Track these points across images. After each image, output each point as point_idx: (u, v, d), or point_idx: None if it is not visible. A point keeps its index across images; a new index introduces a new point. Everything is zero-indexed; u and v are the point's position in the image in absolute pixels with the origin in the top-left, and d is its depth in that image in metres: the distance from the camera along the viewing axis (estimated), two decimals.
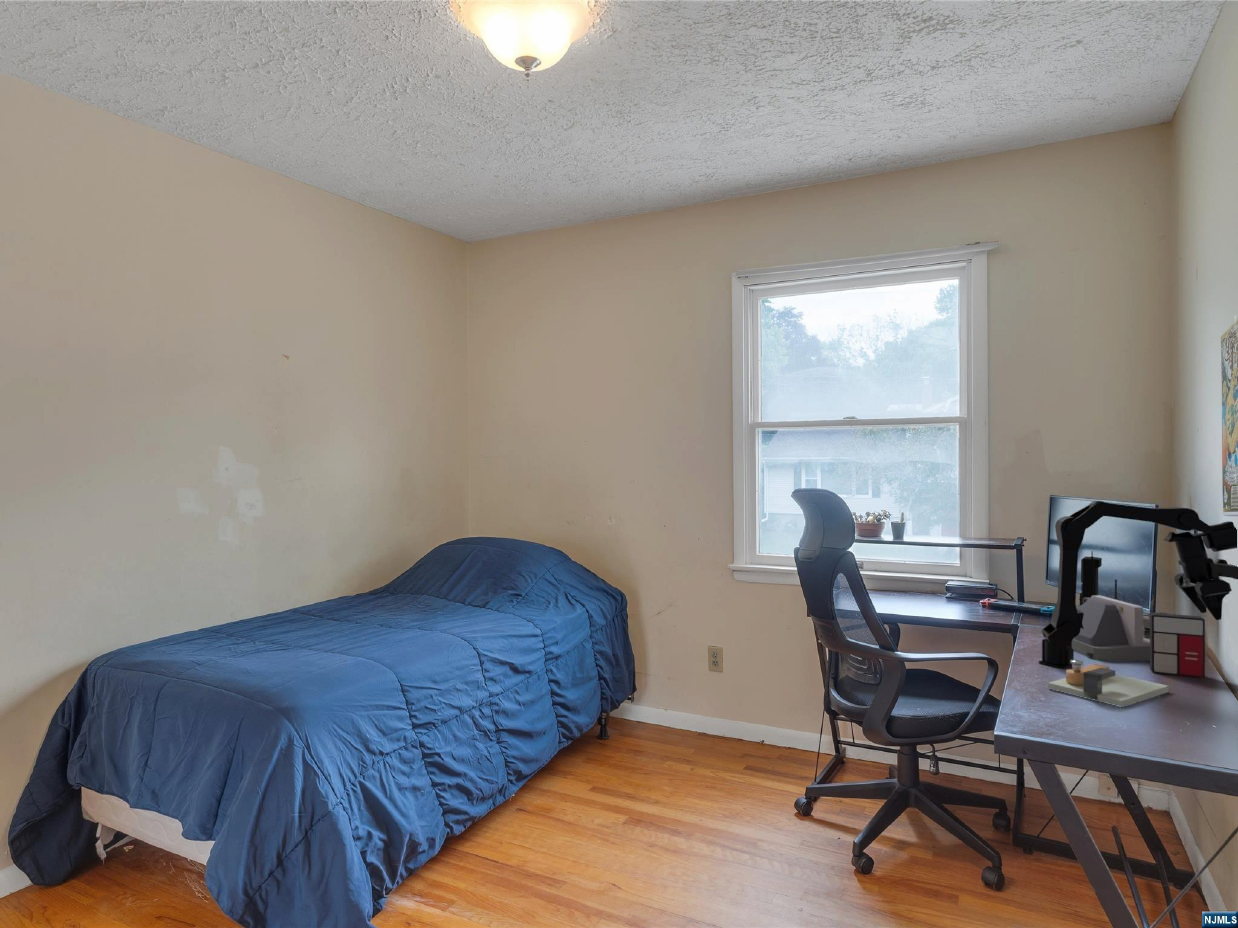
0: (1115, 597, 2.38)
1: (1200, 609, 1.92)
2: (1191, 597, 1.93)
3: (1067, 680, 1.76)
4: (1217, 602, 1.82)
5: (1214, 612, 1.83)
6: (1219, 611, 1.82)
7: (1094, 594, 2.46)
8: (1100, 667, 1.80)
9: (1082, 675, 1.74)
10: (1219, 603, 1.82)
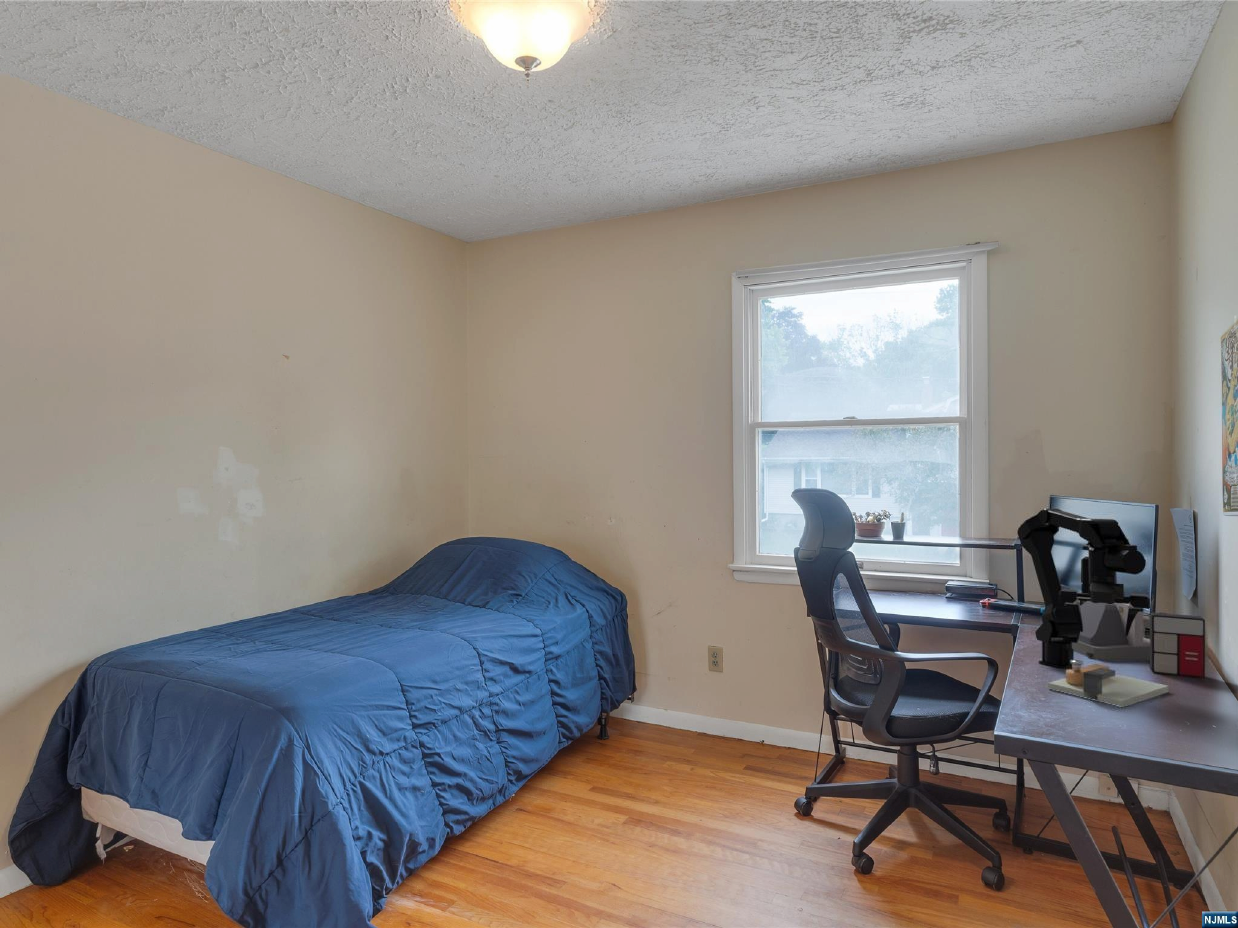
0: None
1: None
2: None
3: (1067, 680, 1.76)
4: None
5: None
6: (1077, 622, 1.85)
7: None
8: (1100, 667, 1.80)
9: (1082, 675, 1.74)
10: None
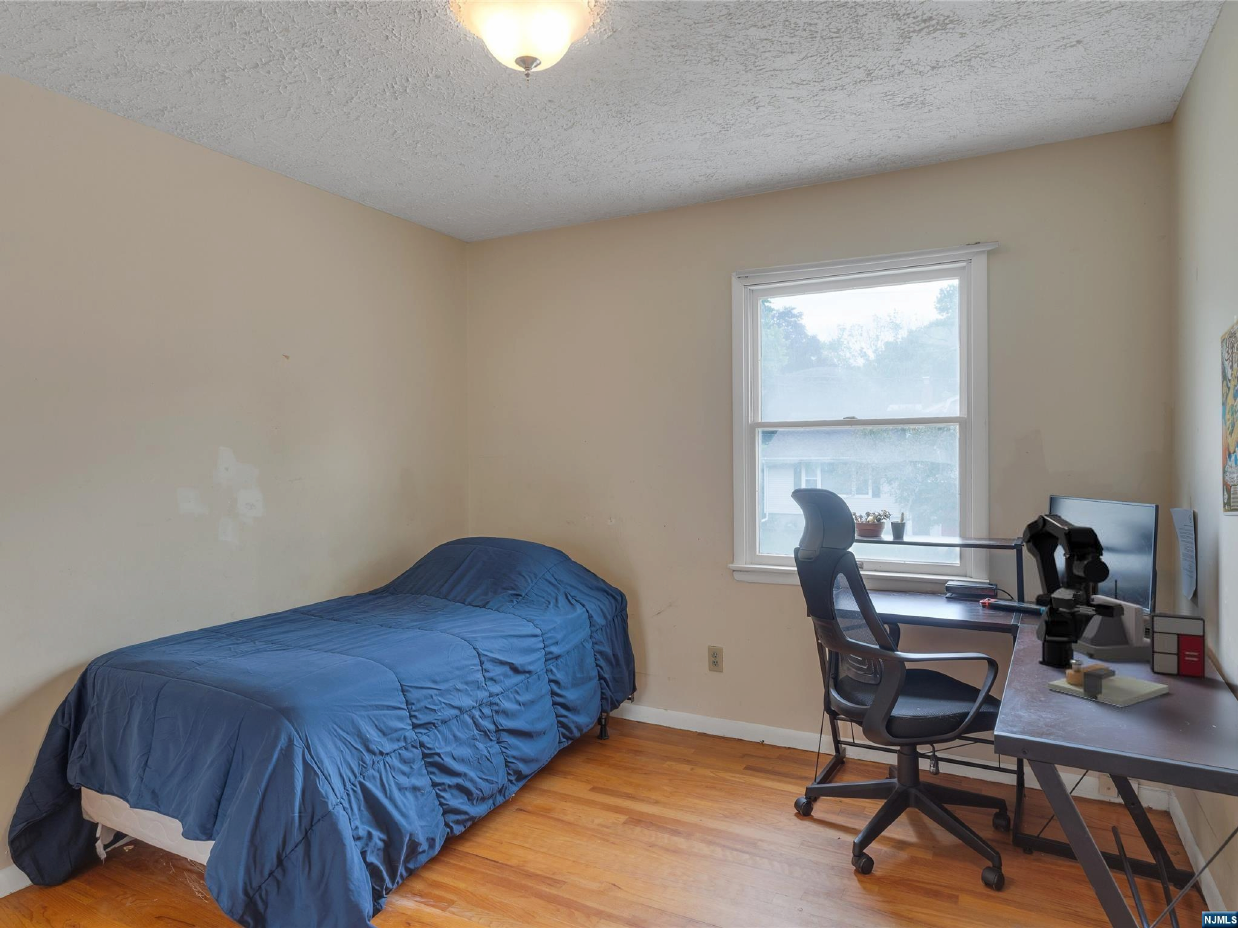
0: (1115, 597, 2.38)
1: None
2: None
3: (1067, 680, 1.76)
4: None
5: None
6: None
7: (1094, 594, 2.46)
8: (1100, 667, 1.80)
9: (1082, 675, 1.74)
10: None
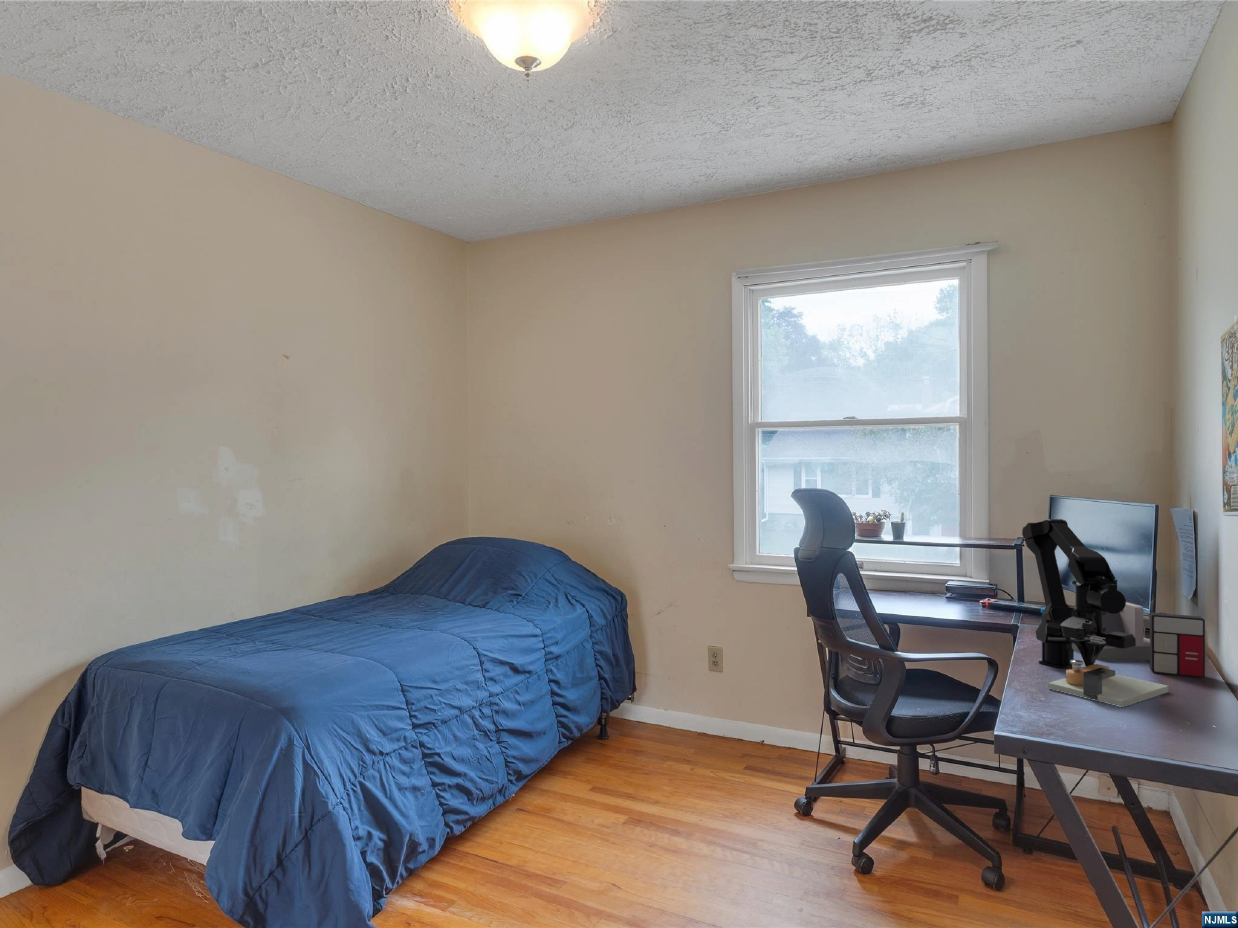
0: None
1: None
2: None
3: (1067, 680, 1.76)
4: None
5: None
6: None
7: None
8: (1100, 667, 1.80)
9: (1082, 675, 1.74)
10: None
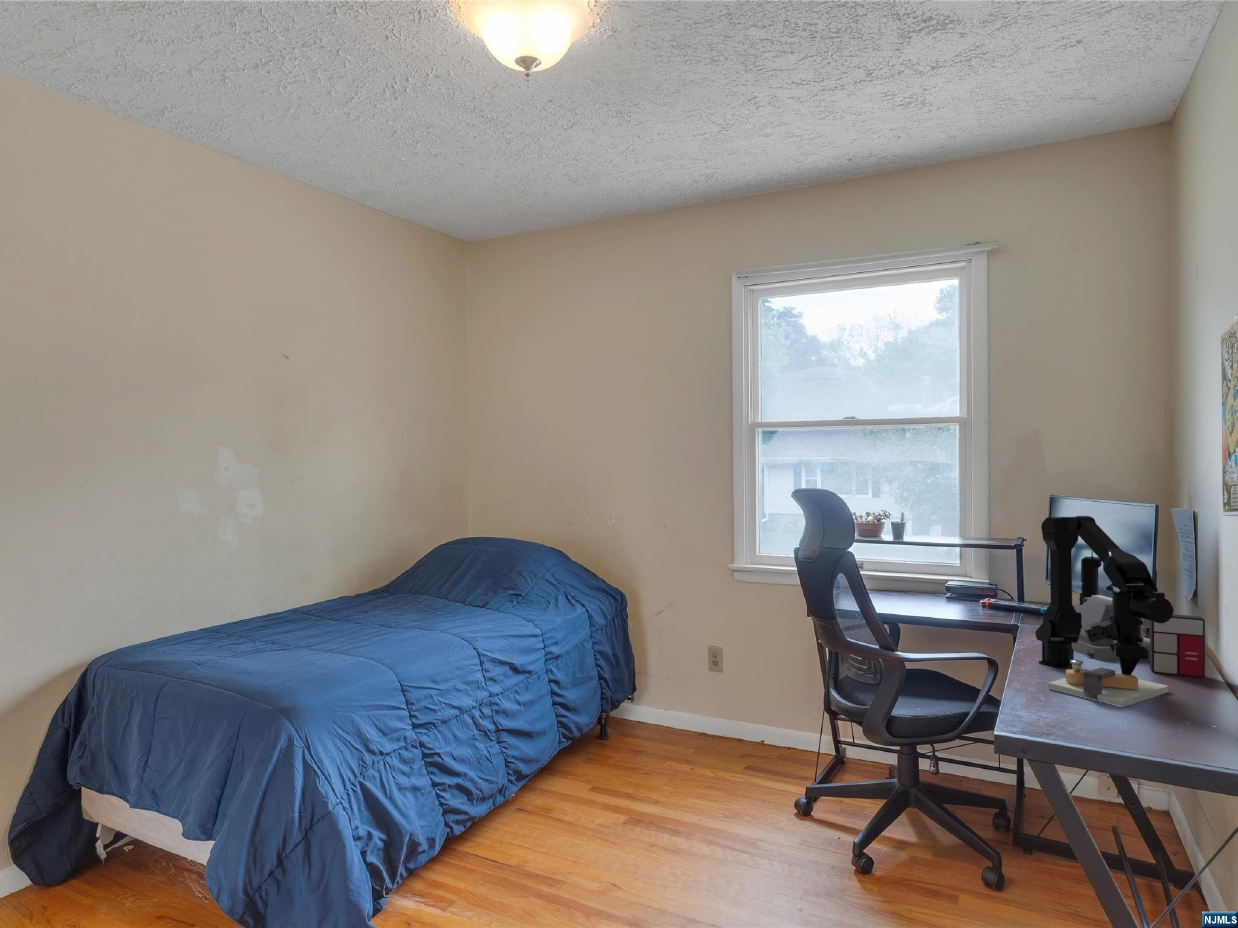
0: None
1: None
2: None
3: None
4: None
5: None
6: None
7: (1094, 594, 2.46)
8: (1123, 676, 1.72)
9: (1073, 674, 1.75)
10: None
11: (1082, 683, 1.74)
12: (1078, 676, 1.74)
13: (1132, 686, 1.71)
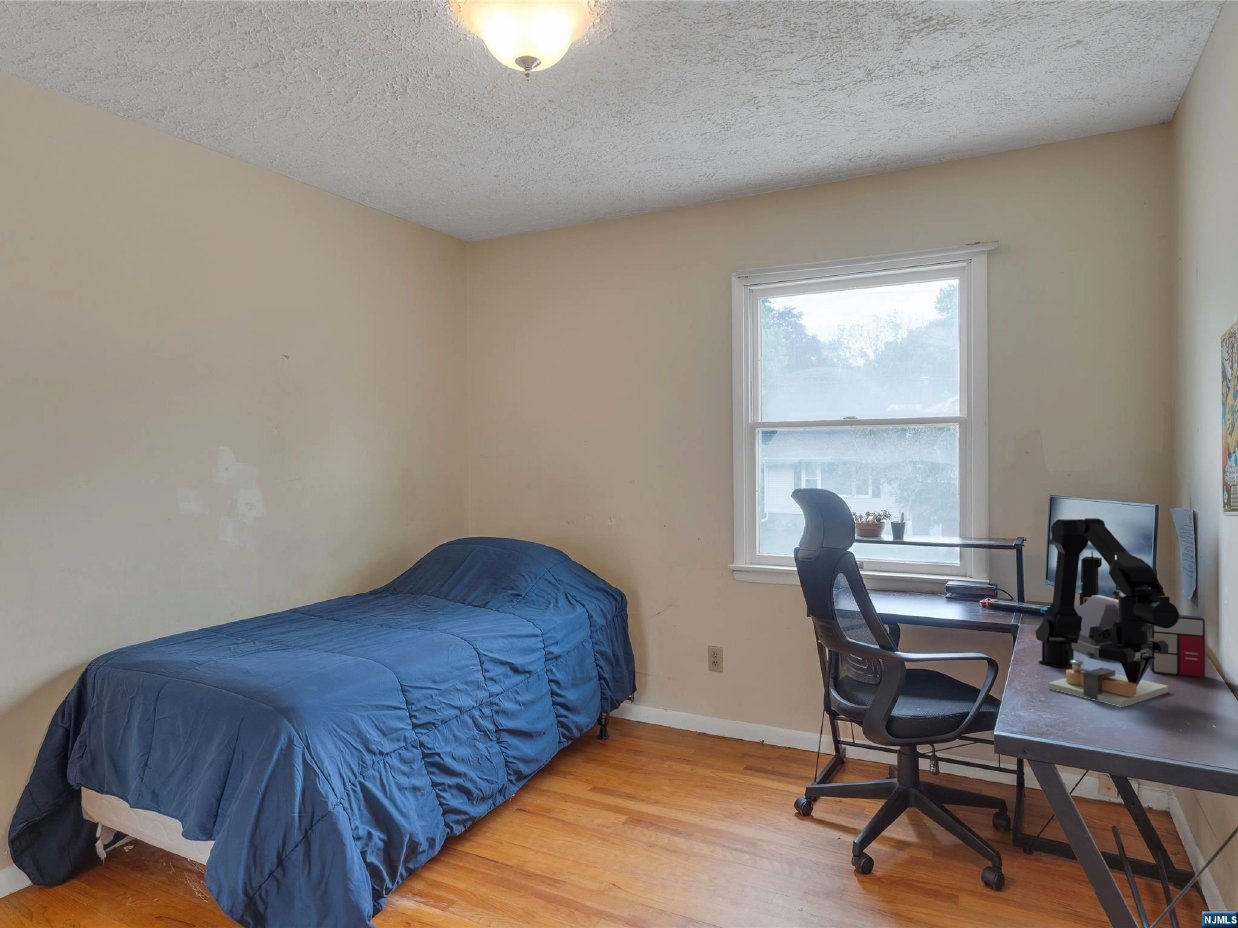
0: (1116, 597, 2.38)
1: None
2: None
3: None
4: None
5: None
6: None
7: (1094, 594, 2.46)
8: (1117, 682, 1.68)
9: (1067, 672, 1.76)
10: None
11: (1075, 682, 1.74)
12: (1071, 675, 1.75)
13: (1124, 693, 1.66)
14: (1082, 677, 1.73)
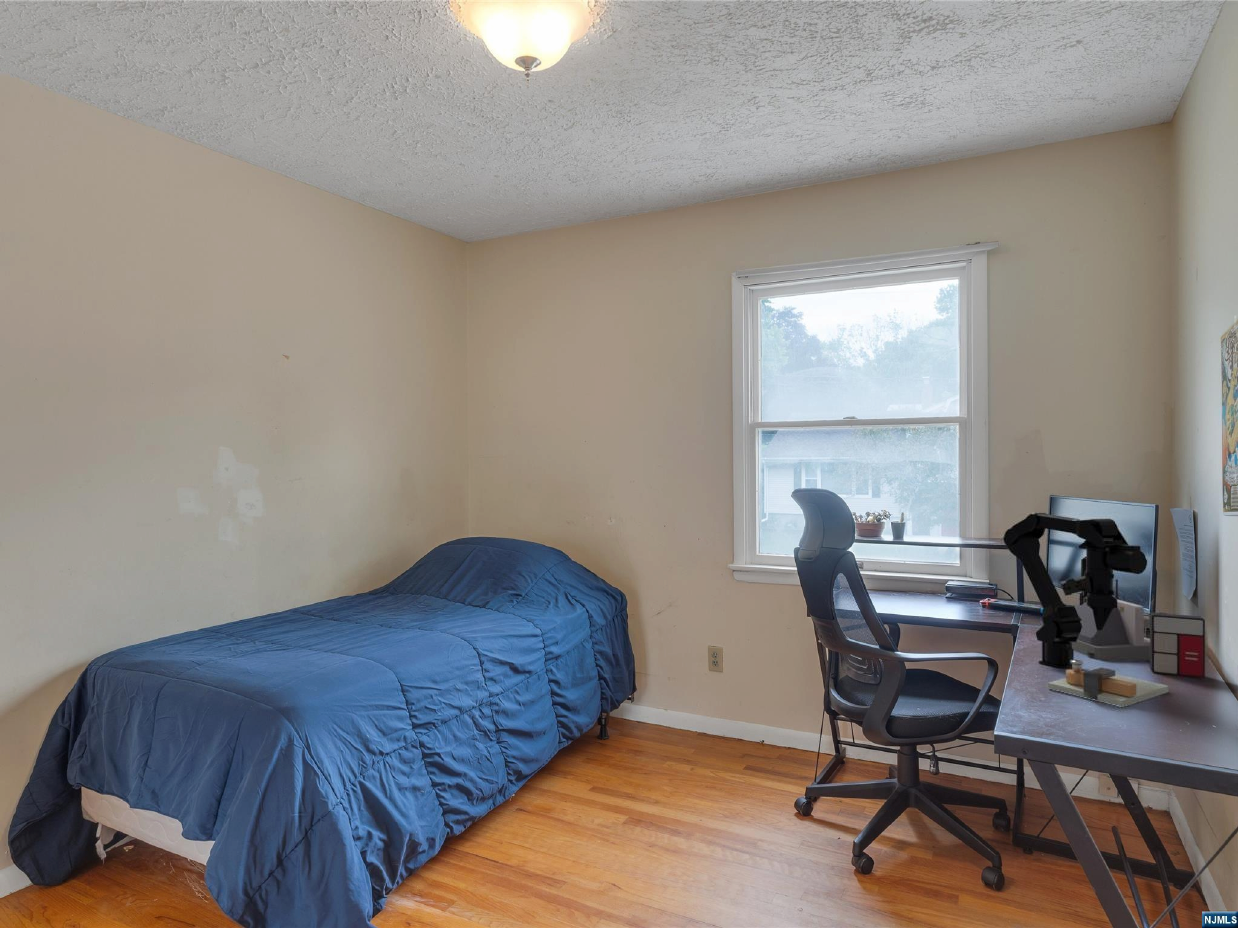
0: (1116, 597, 2.38)
1: None
2: None
3: None
4: None
5: None
6: None
7: None
8: (1117, 682, 1.68)
9: (1067, 672, 1.76)
10: None
11: (1075, 682, 1.74)
12: (1070, 675, 1.75)
13: (1124, 693, 1.66)
14: (1082, 677, 1.73)
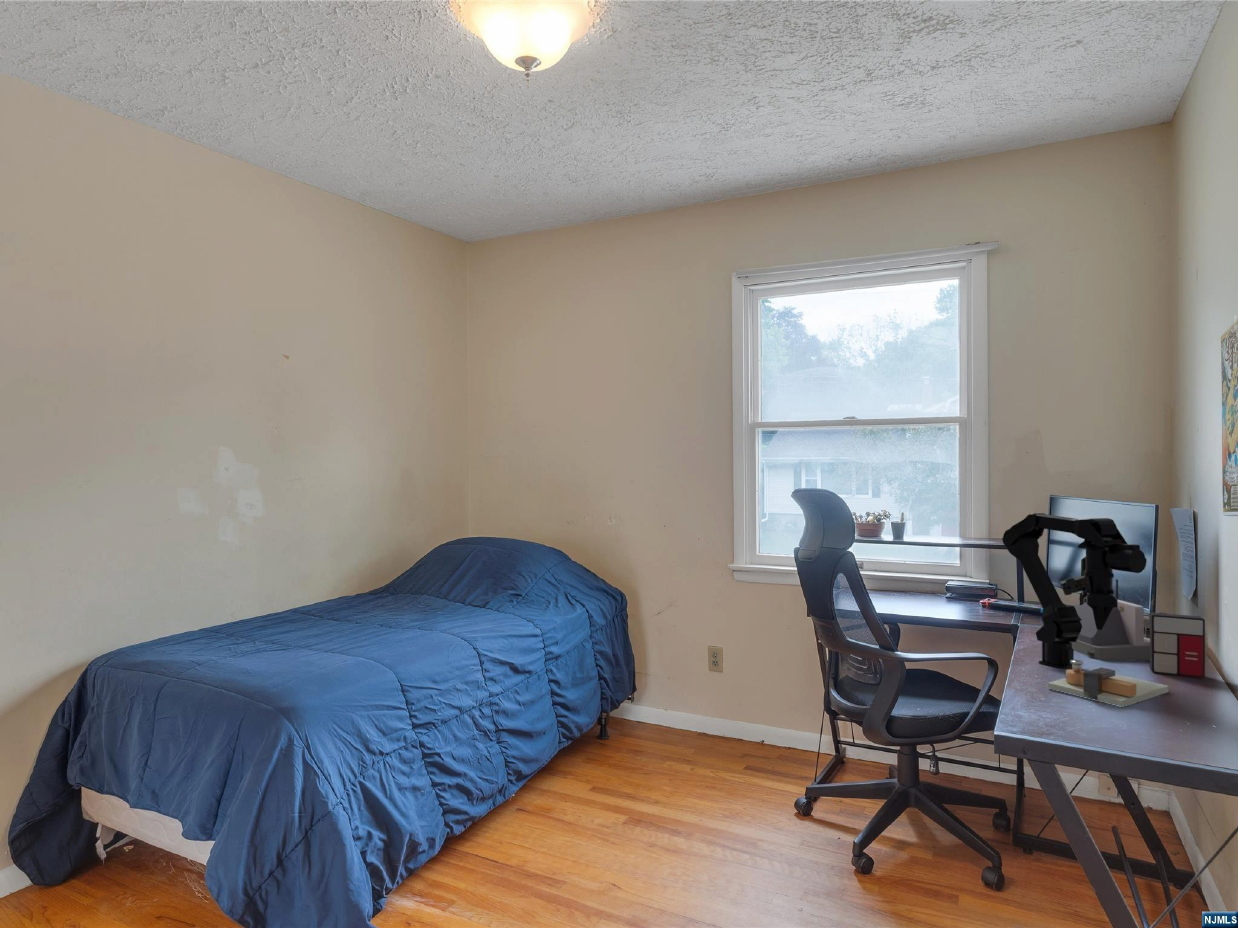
0: (1116, 597, 2.38)
1: None
2: None
3: None
4: None
5: None
6: None
7: None
8: (1117, 682, 1.68)
9: (1067, 672, 1.76)
10: None
11: (1075, 682, 1.74)
12: (1070, 675, 1.75)
13: (1124, 693, 1.66)
14: (1082, 677, 1.73)
